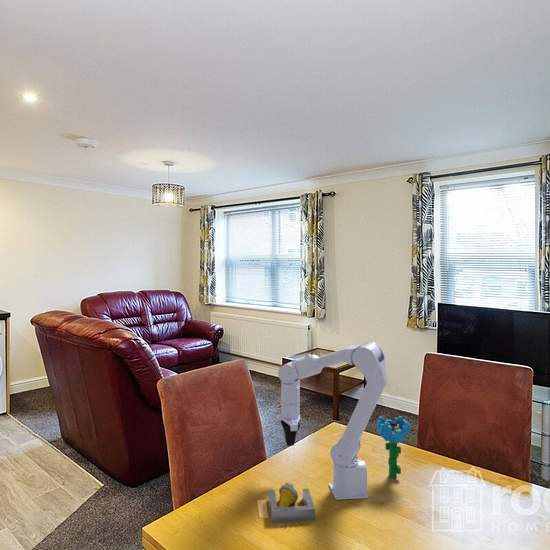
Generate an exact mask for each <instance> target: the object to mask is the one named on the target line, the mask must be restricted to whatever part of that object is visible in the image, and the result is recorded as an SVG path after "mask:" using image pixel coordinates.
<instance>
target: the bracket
mask: <svg viewBox="0 0 550 550" xmlns="http://www.w3.org/2000/svg"><path fill="white" fill-rule="evenodd" d="M302 502H303V505H298V506H297V505H296V506H288V507H278V503H277V497H276V491H275V490H273V489H272V490H268V505H269V506H268V507H269V513H270V521H271V523H272V524H274V523H291V522H294V523H295V522H306V521H316V508H315V505H314V501H313V498H312V496H311V492H310V490H309V488H302Z"/></svg>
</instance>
